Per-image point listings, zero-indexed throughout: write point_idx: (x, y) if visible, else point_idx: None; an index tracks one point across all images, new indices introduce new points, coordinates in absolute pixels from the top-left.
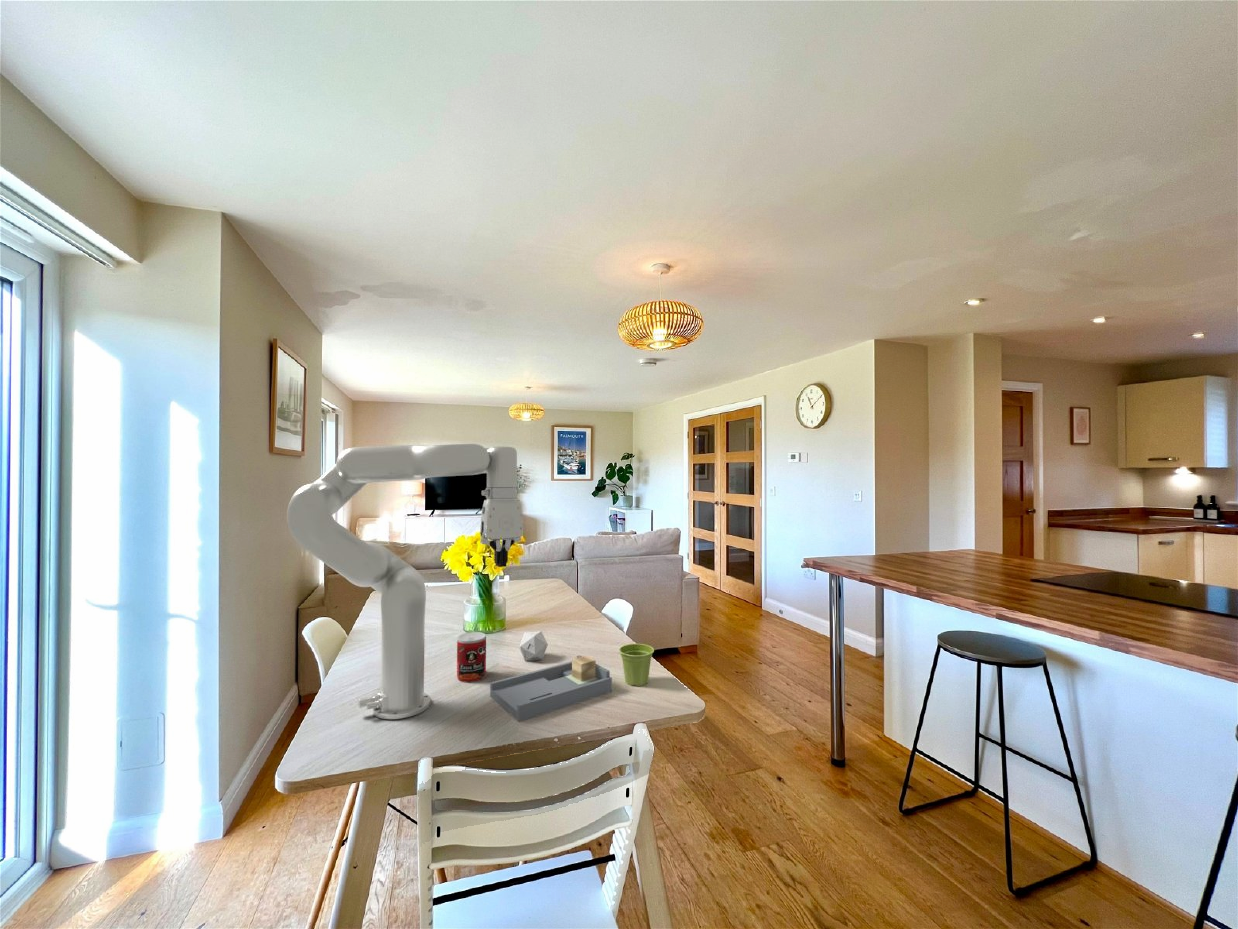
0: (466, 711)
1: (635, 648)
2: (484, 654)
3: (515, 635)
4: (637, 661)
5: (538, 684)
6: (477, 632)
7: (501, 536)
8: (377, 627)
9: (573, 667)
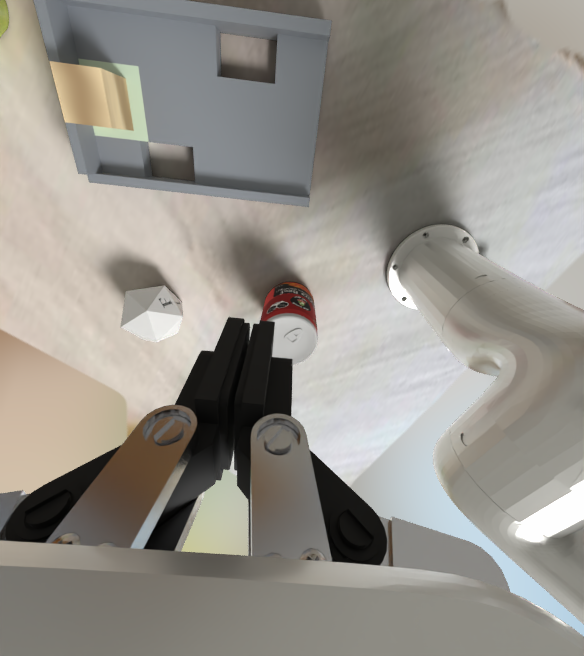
0: (371, 175)
1: None
2: (272, 303)
3: (151, 402)
4: None
5: (220, 146)
6: None
7: (277, 653)
8: None
9: (120, 121)
